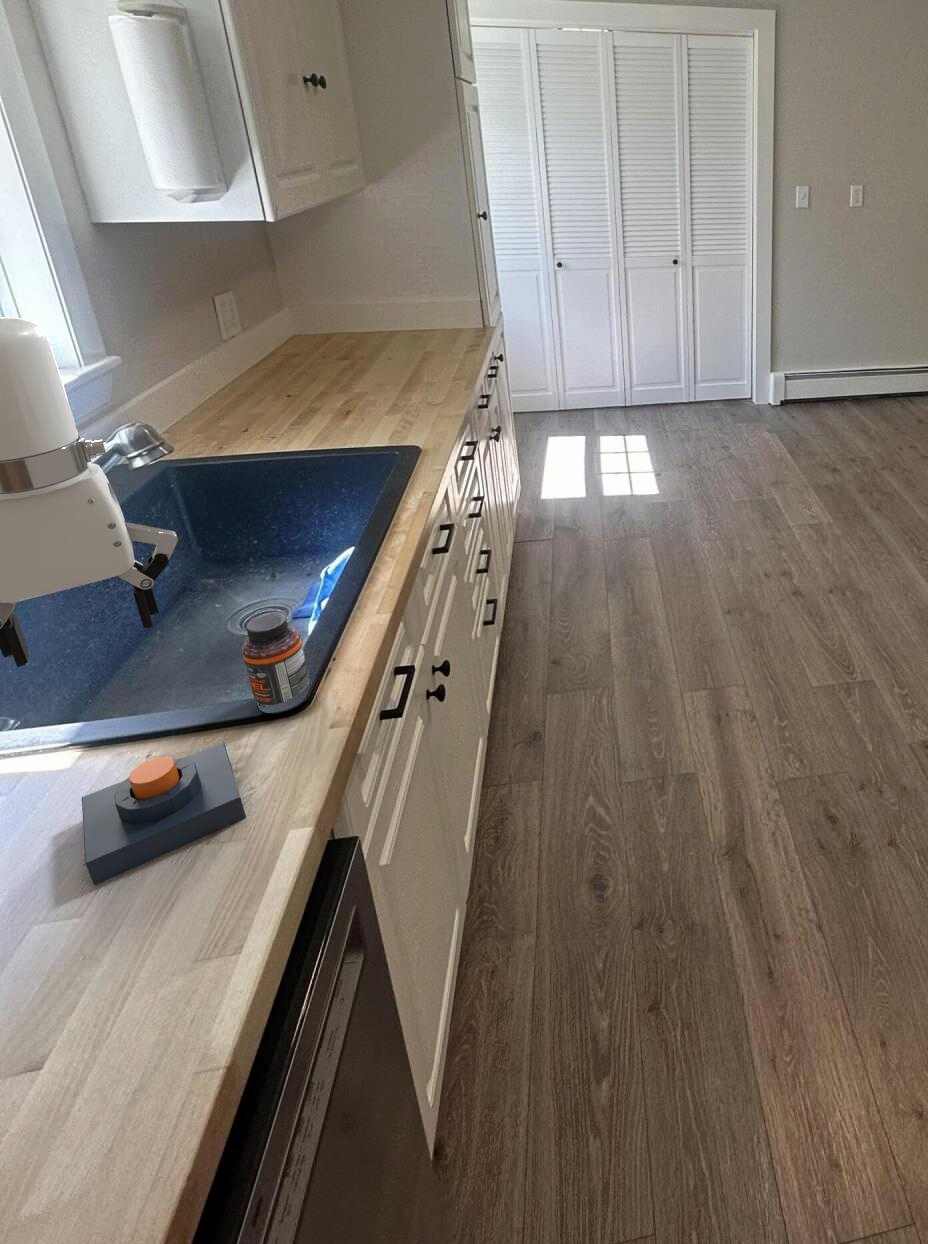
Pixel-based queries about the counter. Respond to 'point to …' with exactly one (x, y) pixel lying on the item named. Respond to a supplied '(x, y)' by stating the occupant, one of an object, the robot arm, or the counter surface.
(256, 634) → the supplement bottle
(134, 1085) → the counter surface
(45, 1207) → the counter surface
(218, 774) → the button box
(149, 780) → the push button
